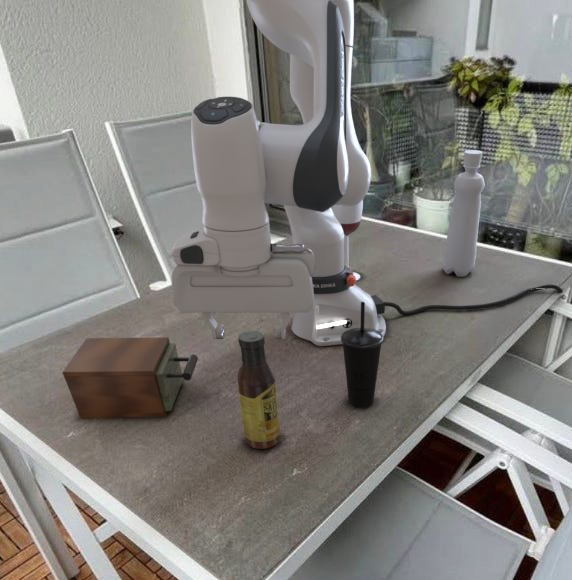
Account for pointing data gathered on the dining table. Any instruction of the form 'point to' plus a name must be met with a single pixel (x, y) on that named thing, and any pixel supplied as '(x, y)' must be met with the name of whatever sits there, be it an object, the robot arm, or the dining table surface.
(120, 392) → the cabinet
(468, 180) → the bottle
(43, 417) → the dining table surface
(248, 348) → the sauce bottle
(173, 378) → the drawer
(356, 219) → the wineglass
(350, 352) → the drinking cup
